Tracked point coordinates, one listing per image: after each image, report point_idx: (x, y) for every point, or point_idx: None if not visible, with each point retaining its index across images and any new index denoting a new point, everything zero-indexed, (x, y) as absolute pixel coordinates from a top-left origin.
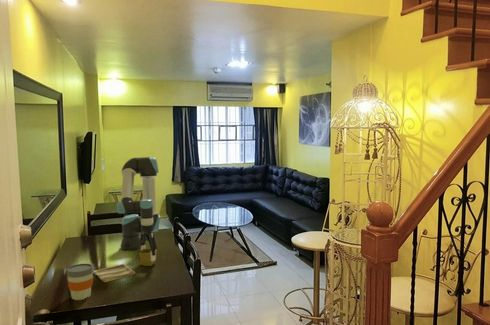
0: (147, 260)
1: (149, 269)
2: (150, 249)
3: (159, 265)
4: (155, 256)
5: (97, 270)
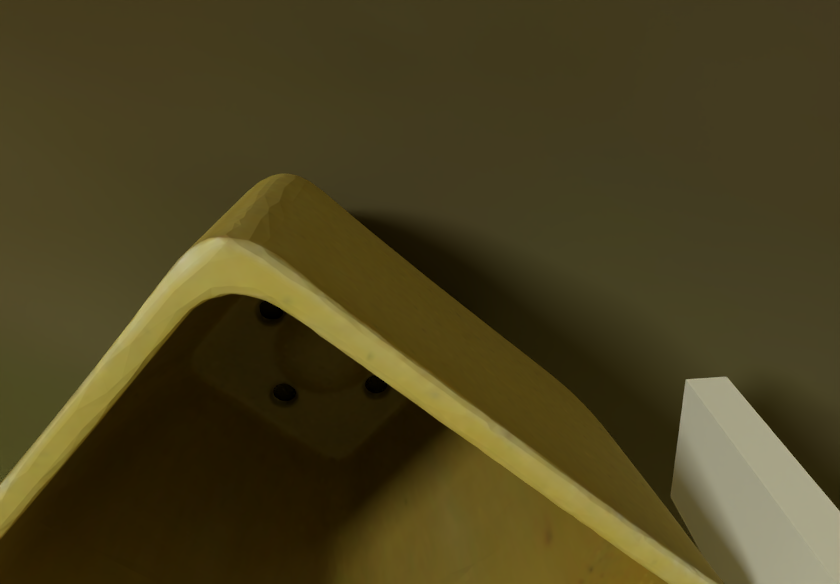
0: (492, 517)
1: (635, 419)
2: (30, 499)
3: (562, 135)
4: (387, 256)
5: None
